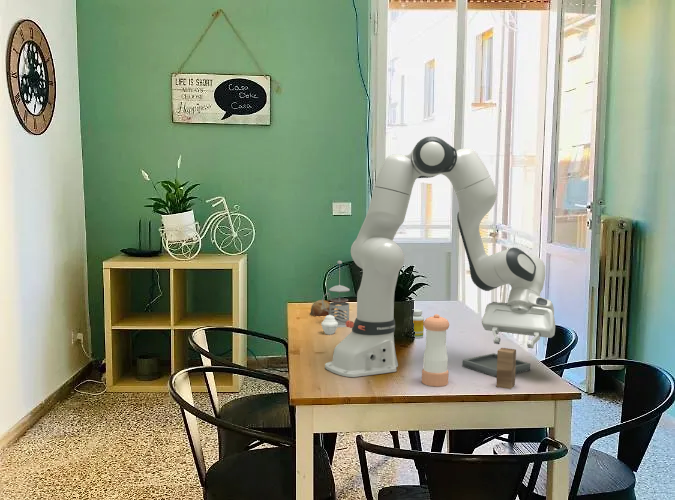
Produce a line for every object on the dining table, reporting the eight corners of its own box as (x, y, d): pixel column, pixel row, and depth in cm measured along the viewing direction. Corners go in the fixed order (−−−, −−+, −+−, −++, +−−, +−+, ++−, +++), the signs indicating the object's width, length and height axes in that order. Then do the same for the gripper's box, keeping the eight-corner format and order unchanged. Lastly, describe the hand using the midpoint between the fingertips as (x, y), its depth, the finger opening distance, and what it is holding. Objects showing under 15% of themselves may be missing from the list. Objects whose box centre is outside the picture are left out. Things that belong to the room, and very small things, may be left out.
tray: (498, 377, 186) (498, 371, 186) (462, 366, 197) (462, 359, 197) (530, 370, 194) (530, 363, 194) (493, 359, 205) (493, 353, 205)
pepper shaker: (453, 382, 182) (455, 314, 179) (438, 388, 176) (440, 318, 174) (431, 377, 186) (432, 310, 184) (416, 382, 181) (418, 314, 179)
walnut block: (511, 389, 176) (512, 352, 175) (496, 386, 178) (497, 350, 177) (514, 385, 180) (516, 349, 179) (500, 382, 182) (501, 347, 180)
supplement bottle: (405, 336, 234) (405, 310, 233) (414, 334, 238) (414, 308, 237) (417, 339, 231) (418, 312, 230) (426, 336, 235) (427, 310, 234)
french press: (349, 327, 248) (350, 262, 245) (319, 326, 250) (320, 261, 247) (353, 322, 257) (354, 259, 255) (324, 321, 259) (324, 258, 257)
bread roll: (311, 321, 277) (304, 304, 275) (332, 309, 279) (325, 293, 277) (318, 326, 267) (310, 309, 265) (339, 314, 269) (332, 297, 268)
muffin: (318, 334, 236) (318, 315, 236) (324, 331, 242) (324, 312, 241) (335, 336, 234) (335, 316, 234) (340, 332, 240) (340, 313, 239)
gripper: (485, 295, 193) (474, 334, 186) (557, 301, 183) (548, 343, 176) (489, 307, 198) (478, 346, 190) (559, 314, 188) (551, 355, 180)
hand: (513, 345), depth 183 cm, fingers open, 8 cm apart
